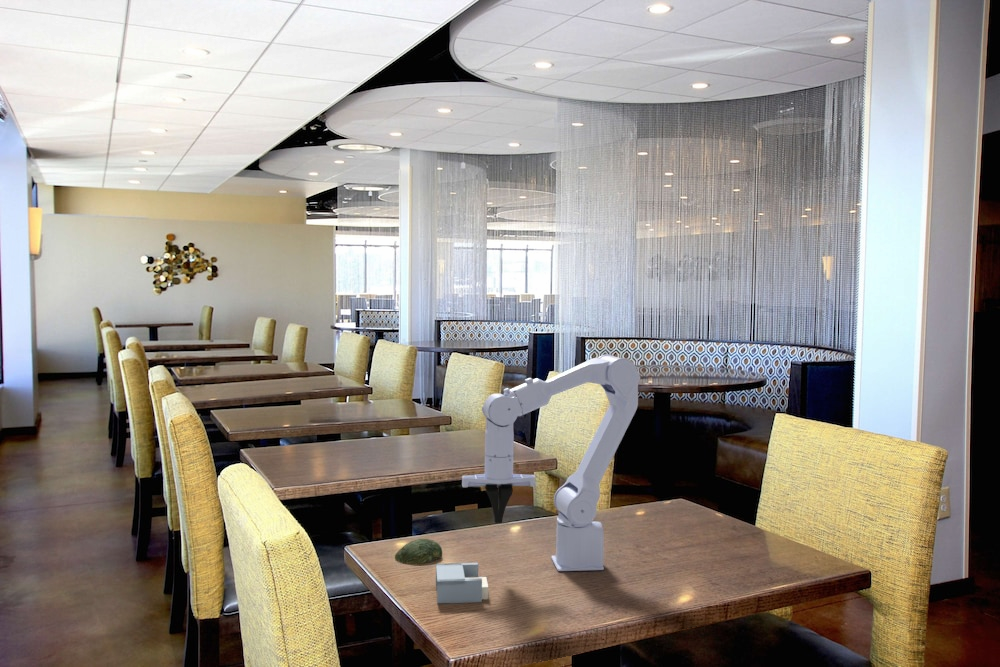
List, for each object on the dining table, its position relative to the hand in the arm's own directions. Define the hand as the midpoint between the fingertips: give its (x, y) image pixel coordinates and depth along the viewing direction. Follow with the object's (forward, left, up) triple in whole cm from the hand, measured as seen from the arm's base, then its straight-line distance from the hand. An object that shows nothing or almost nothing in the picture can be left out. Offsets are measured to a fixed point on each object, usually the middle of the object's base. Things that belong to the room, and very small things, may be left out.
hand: (498, 521), depth 155 cm
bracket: (+8, +11, -10) cm, 17 cm away
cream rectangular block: (+7, +12, -10) cm, 17 cm away
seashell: (+16, -9, -10) cm, 21 cm away
